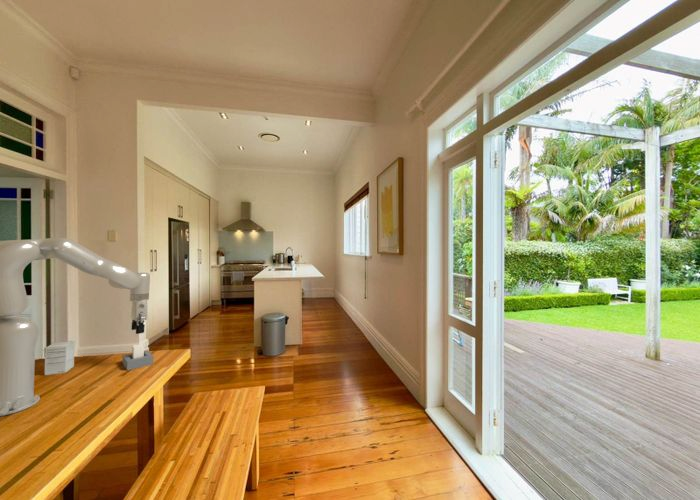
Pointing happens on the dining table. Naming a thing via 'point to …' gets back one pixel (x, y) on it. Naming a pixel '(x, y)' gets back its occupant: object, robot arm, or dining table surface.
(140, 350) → the peg
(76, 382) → the dining table surface
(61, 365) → the supplement box
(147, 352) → the socket board
